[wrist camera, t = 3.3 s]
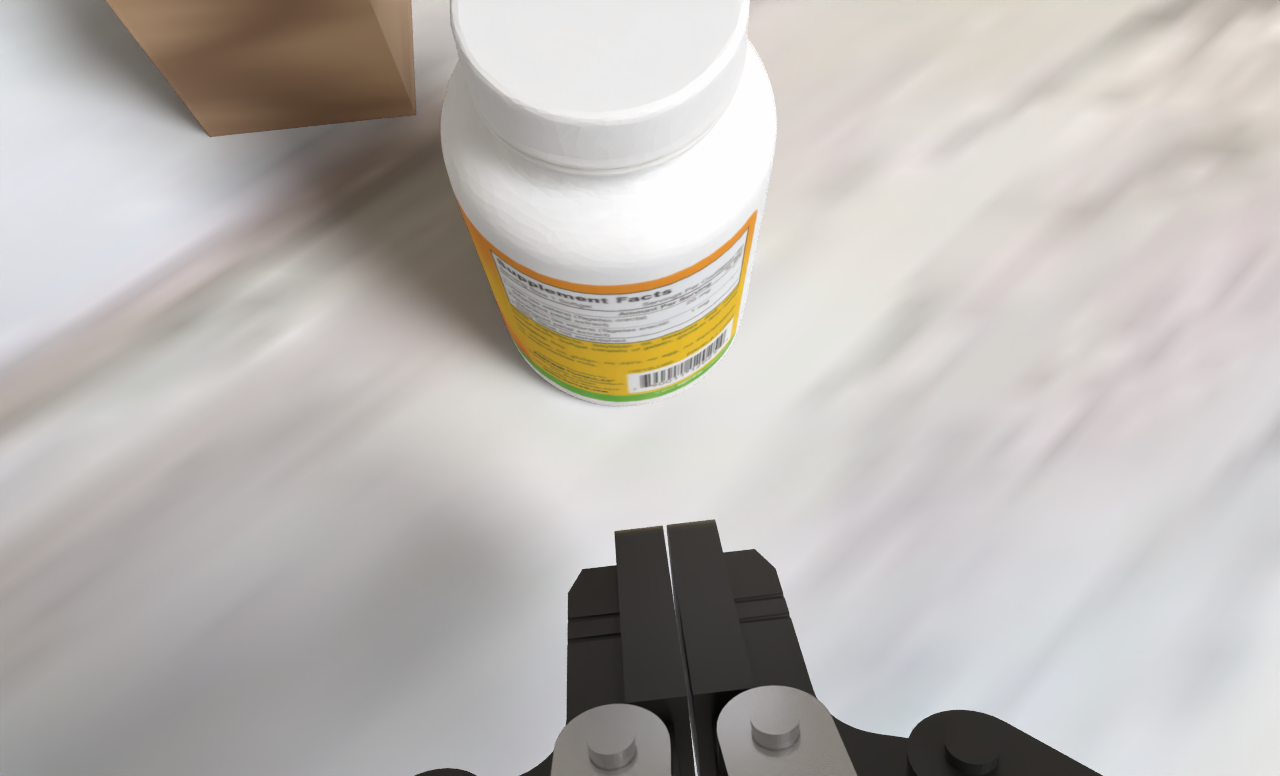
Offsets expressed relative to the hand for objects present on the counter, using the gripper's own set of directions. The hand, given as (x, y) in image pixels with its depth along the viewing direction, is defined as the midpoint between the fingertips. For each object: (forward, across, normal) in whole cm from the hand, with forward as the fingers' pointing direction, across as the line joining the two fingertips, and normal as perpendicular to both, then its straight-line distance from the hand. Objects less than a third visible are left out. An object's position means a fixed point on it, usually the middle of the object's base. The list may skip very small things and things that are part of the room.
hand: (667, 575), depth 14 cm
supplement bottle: (+9, 0, -1) cm, 9 cm away
